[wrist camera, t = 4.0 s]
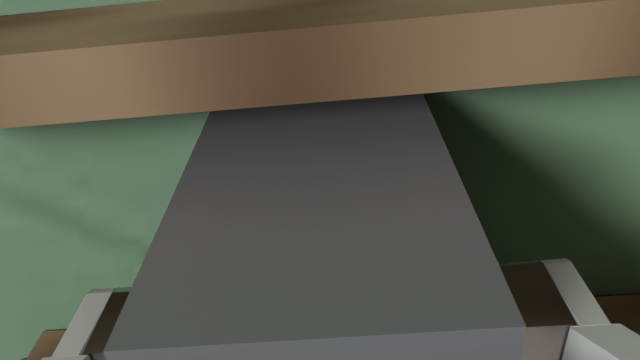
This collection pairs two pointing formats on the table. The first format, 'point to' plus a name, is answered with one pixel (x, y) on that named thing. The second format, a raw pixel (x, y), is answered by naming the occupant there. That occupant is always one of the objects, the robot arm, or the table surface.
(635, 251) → the table surface
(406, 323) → the plug block
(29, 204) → the table surface
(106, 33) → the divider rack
